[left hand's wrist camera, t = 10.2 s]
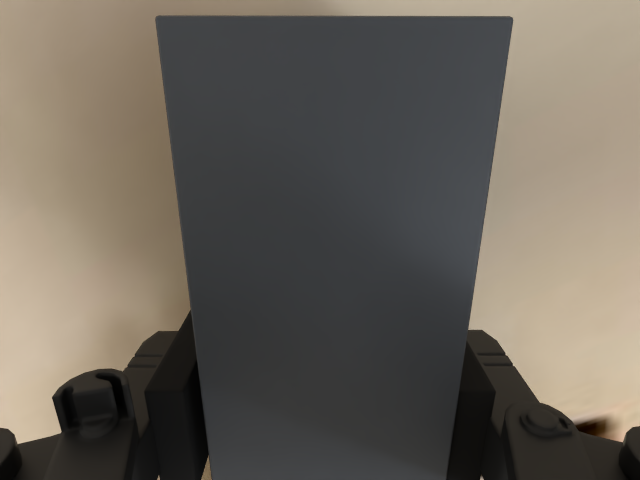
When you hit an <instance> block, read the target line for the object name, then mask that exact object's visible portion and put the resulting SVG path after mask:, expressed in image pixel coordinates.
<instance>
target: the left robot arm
mask: <svg viewBox="0 0 640 480" xmlns="http://www.w3.org/2000/svg"><path fill="white" fill-rule="evenodd" d="M52 399H53V402H54V406H55V409H56V413H57V417H58V420H59V424H60V427H61V431H62V432H61V433H60V434H57V435H54V436H51V437H46V438H42V439H38V440H34V441H29V442H25V443H21V444H17V441H16V438H15V435H14V434H13V433H12V432H11V431H10V430H8V429H4V428H0V480H157V478H158V476H160V480H201V478H202V475H203V471H204V468H205V465H206V461H207V458H208V455H209V452H208V444H207V436H206V428H205V420H204V412H203V404H202V395H201V387H200V379H199V371H198V363H197V355H196V346H195V338H194V330H193V322H192V314H191V310H190V312H189V314H188V316H187V317H186V319H185V321H184V323H183V324H182V326H181V328H180V330H179V331H158V332H157V333H155V334H154V335H152V336H151V337H150V338H148V339H147V340H146V341H144V342H143V343H142V345H141V346H140V348H139V349H138V351H137V352H136V354H135V357H133V358H132V359H131V361H130V362H129V364H128V367H127V368H125V370H124V371H123V372H122V371H119V370H115V369H97V370H94V371H90V372H86V373H83V374H81V375H79V376H77V377H74V378H72V379H70V380H69V381H68V382H66V383H65V384H64V385H62V386H61V387H60V388H59V389H58V390H57V391H56V393H55V394H54V395H53V397H52ZM481 474H482V476H483V479H484V480H640V426H638V427H632V428H631V429H630V430H629V431H628V432H627V433H626V435H625V438H624V441H623V443H622V442H618V441H614V440H610V439H605V438H601V437H597V436H593V435H589V434H585V433H582V432H579V431H578V430H577V428H576V427H575V425H574V424H573V422H572V421H571V420H570V419H569V418H568V417H567V416H565V415H564V414H563V413H562V412H560V411H558V410H557V409H555V408H553V407H551V406H549V405H546V404H543V403H540V402H539V401H538V400H537V398H536V397H535V395H534V394H533V392H532V391H531V389H530V388H529V387H528V385H527V384H526V382H525V381H524V379H523V378H522V376H521V375H520V374H519V372H518V371H517V369H516V368H515V366H513V363H512V362H511V361H510V359H509V358H508V356H506V355H505V352H504V350H503V349H502V348H501V346H500V345H499V343H498V342H497V341H496V340H495V339H494V338H492V337H491V336H490V335H488V334H487V333H485V332H484V331H483V330H468V333H467V340H466V347H465V354H464V361H463V368H462V375H461V381H460V388H459V395H458V402H457V409H456V416H455V423H454V430H453V436H452V443H451V450H450V457H449V464H448V471H447V478H446V480H480V476H481Z"/></svg>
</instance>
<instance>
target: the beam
mask: <svg viewBox="0 0 640 480" xmlns="http://www.w3.org/2000/svg"><path fill="white" fill-rule="evenodd" d="M512 25H513V18H512V17H510V16H161V15H159V16H157V17H156V29H157V37H158V45H159V53H160V61H161V69H162V77H163V86H164V94H165V102H166V110H167V118H168V126H169V135H170V143H171V151H172V159H173V167H174V175H175V183H176V192H177V200H178V208H179V216H180V224H181V232H182V241H183V249H184V257H185V265H186V273H187V281H188V289H189V298H190V306H191V314H192V322H193V330H194V338H195V346H196V355H197V363H198V371H199V379H200V387H201V395H202V404H203V412H204V420H205V428H206V436H207V444H208V452H209V461H210V469H211V477H212V480H446V478H447V471H448V464H449V457H450V450H451V443H452V436H453V430H454V423H455V416H456V409H457V402H458V395H459V388H460V381H461V375H462V368H463V361H464V354H465V347H466V340H467V333H468V327H469V320H470V313H471V306H472V299H473V292H474V285H475V279H476V272H477V265H478V258H479V251H480V244H481V237H482V230H483V224H484V217H485V210H486V203H487V196H488V189H489V182H490V176H491V169H492V162H493V155H494V148H495V141H496V134H497V128H498V121H499V114H500V107H501V100H502V93H503V86H504V79H505V73H506V66H507V59H508V52H509V45H510V38H511V31H512Z"/></svg>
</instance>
